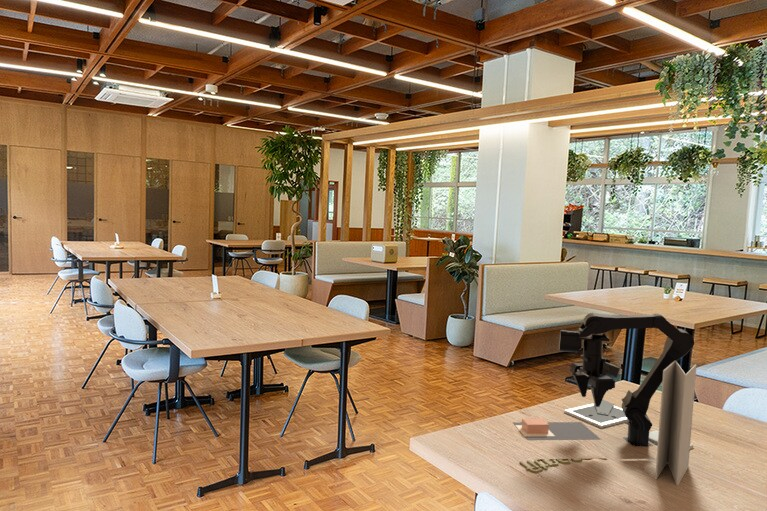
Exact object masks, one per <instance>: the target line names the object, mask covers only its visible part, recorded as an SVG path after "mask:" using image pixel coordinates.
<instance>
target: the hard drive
mask: <svg viewBox="0 0 767 511" xmlns="http://www.w3.org/2000/svg"><path fill="white" fill-rule="evenodd" d="M658 434H659V430H652V431H649V443H651V444H652V443H653V444H655V445H657V446H658ZM694 448H695V447H694V444H691V443H690V450H691V449H694Z"/></svg>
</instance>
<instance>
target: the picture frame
mask: <svg viewBox="0 0 767 511" xmlns="http://www.w3.org/2000/svg"><path fill="white" fill-rule="evenodd" d="M563 412H564V414H566V415H569V416H571V417H574V418H576V419H578V420H580V421H582V422H585V423H588V424H590V425H593V426H595V427H597V428H600V429H604V428H608V427H612V426H615V425H621V424H625V425H626V424H627V425H628V424H629V420H628V419H627V418H626V416H625V414H624V412H623V410H622V407H619V406H615V403H612V402H610V401H607V400H605V399H602V402H601V404H600V406H599V407H596V406H595V402H594V401H593V403H590V404H585V405H581V406H576V407H571V408H568V409H567V408H566V409H564V410H563Z"/></svg>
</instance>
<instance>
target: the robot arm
mask: <svg viewBox="0 0 767 511" xmlns="http://www.w3.org/2000/svg"><path fill="white" fill-rule="evenodd" d="M631 329H632V330H633V329H636V330H637V329H658V330H659V331H660V332H662V333H663V334H664V335H665V336H666V339H665V342H664V346H663V350H662V353H661V354H660V356H659V357H658V358H657V360H656V361H655V363H654V364H653V366H652V367H651V369H650V370H649V372H648V373H647V375H646V376H645V378H644V379H643V381H642V382H641V383H640V385H639V387H638V388H637V389H636V390H634V391H633V392H632V391H631V390H627V392H626V393H625V394H626V395H625V396H624V397H622V398H621V401H622V403H621V408H622V410H623V412H624V414H625V416H626V418H627V419H628V420H629V423H628V424H627V427H628V428H627V437H626V436H625V437H623V440H625V441H626V442H627V443H629V444H630V445H631V446H632V447H653V446H654V445H653V444H652V443H651V442H650V441H649V432H650V430H651V429H652V427H653V423H652V421H651V419H650V417H649V416H648V414H647V412H648V410H649V406H650V403H651V399H652V397H653V396H654V394H655V393H656V391H657V390H658V388H660V386H661V385H662V381H663V370H665V369H666V368H667V367H668V366H669V365H670V364H671V363H673V362H674V361H677V362H678V361H679V360H680V359H682V358H683V357H685V356H686V355H687V354H688V353H689V352H690V351H691V350H692V349H693V348H694V347H695V344H696V343H695V339H694V337H693V336H692V334H690V333H688V331H686V330H684V329H682V328H678V327H675V326H674V325H673V324H672V323H671V322H669V321H668V320H667V319H666V317H664V316H663V315H662V314H660V313H653V314H633V315H610V314H604V313H599V312H598V313H597V312H590V313H588V314H586V316H584V318H583V322H582V324H581V325H580V326H579V327H578V328H577V330H567V329H560V332H559V338H558V351H559V352H564V353H565V352H566V353H567V352H568V353H578V352H579V351H580V350H582V354H580V359H582V362H577V363H576V362H574V363H572V364H571V365H570V367H569V371H570V373H571V375H572V376H573V378H574V381H575V382H576V385H577V387H578V390H579V393H580V395H581V397H583V398H586V396H587V393H588V386H589V387H590V391H591V394H592V398H593V403H594V402H595V406H596V407H599V406H600V404H601V402H602V400H604V398H605V397H604V396H605V395H606V393H607V392H608V391H609V390H613V389H615V388H616V381H615V380H614V378H618V375H619V372H620V371H621V367H619V366H617V365H615V364H613V363H611V360H610V359H608V358H606V357H603V348H604V347H603V345H604V344H603V343H604V342H610V341H611V339H610V337H608V336H607V334H606V333H608V332H611V331H615V330H631ZM582 341H583V342H582ZM582 344H583V345H582ZM582 347H583V348H582ZM607 374H608V375H607ZM609 375H610V376H613V377H614V378H612V377H610V376H609ZM589 382H590V385H589Z"/></svg>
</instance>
